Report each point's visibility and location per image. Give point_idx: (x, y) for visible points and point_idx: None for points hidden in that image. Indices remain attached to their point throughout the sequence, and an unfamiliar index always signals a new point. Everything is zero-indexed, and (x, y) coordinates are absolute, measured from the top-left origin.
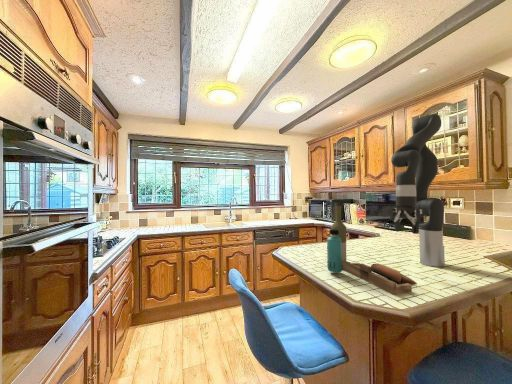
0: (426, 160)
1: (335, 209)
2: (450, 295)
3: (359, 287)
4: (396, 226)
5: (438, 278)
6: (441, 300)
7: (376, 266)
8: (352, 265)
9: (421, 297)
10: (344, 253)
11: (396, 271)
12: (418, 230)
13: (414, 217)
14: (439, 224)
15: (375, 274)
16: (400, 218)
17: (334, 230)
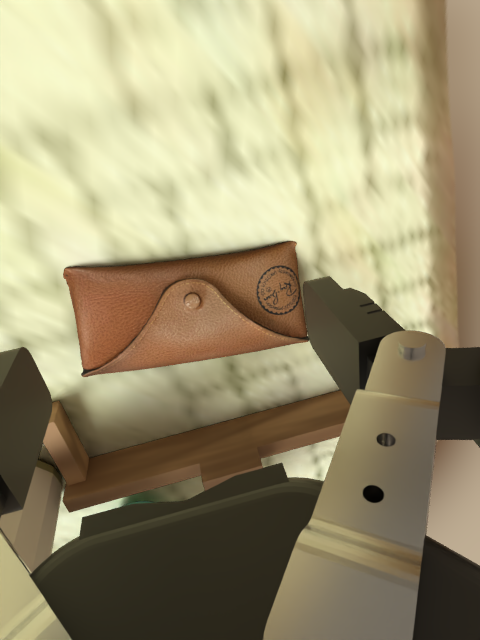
0: None
1: None
2: (427, 193)
3: (286, 465)
4: (35, 452)
5: (241, 32)
6: (442, 268)
7: (124, 369)
8: (151, 488)
9: (403, 319)
10: (43, 537)
11: (249, 333)
12: (371, 309)
13: (375, 453)
14: None
15: (286, 443)
16: (16, 553)
17: None
